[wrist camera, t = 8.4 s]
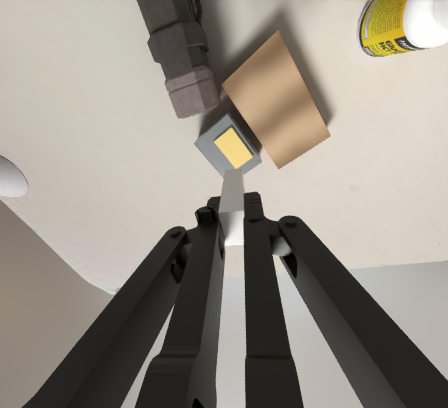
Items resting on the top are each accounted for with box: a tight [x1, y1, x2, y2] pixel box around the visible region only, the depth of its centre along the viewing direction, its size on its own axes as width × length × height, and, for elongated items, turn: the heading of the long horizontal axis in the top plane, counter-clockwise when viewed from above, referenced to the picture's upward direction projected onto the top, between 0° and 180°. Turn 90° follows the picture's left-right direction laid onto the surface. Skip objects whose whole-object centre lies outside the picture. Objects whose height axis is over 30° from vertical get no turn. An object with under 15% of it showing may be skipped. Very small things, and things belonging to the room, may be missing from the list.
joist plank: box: [221, 31, 331, 169], centre depth 26 cm, size 14×8×2 cm, turn 39°
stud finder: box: [194, 111, 262, 178], centre depth 28 cm, size 8×6×4 cm
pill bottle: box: [357, 0, 448, 57], centre depth 17 cm, size 6×6×11 cm
